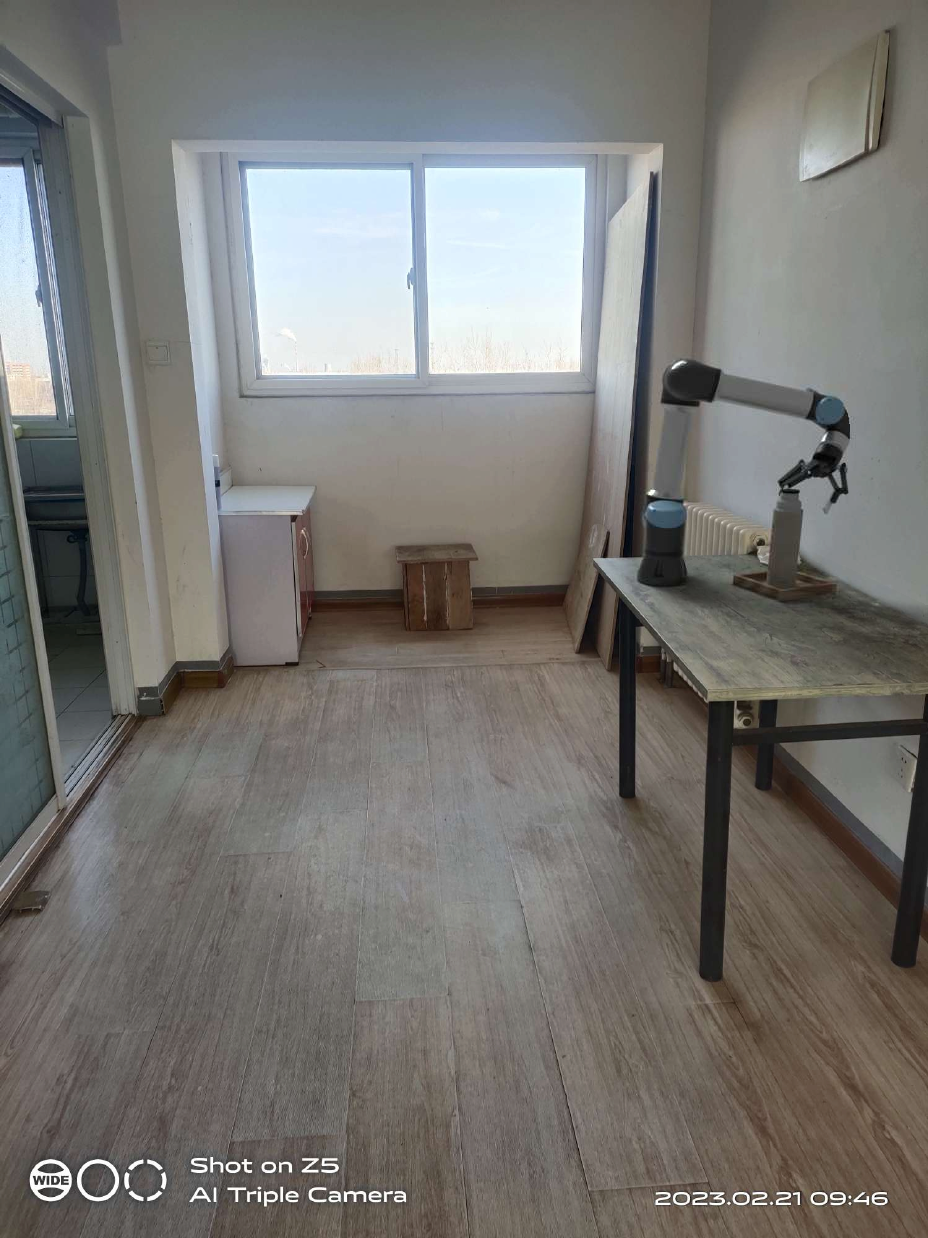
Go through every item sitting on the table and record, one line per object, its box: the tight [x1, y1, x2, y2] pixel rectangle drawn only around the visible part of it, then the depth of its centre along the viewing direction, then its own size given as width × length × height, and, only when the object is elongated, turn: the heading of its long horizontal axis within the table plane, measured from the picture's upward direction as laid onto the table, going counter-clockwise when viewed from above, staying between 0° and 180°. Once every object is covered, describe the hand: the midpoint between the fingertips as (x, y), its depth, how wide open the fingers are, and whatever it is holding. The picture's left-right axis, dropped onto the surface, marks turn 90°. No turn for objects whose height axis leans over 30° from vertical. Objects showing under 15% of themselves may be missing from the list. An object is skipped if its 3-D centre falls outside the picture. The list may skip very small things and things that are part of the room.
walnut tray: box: [732, 570, 838, 603], centre depth 243 cm, size 20×20×3 cm
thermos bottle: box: [766, 488, 804, 589], centre depth 240 cm, size 8×8×28 cm
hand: (801, 508), depth 239 cm, fingers open, 13 cm apart
